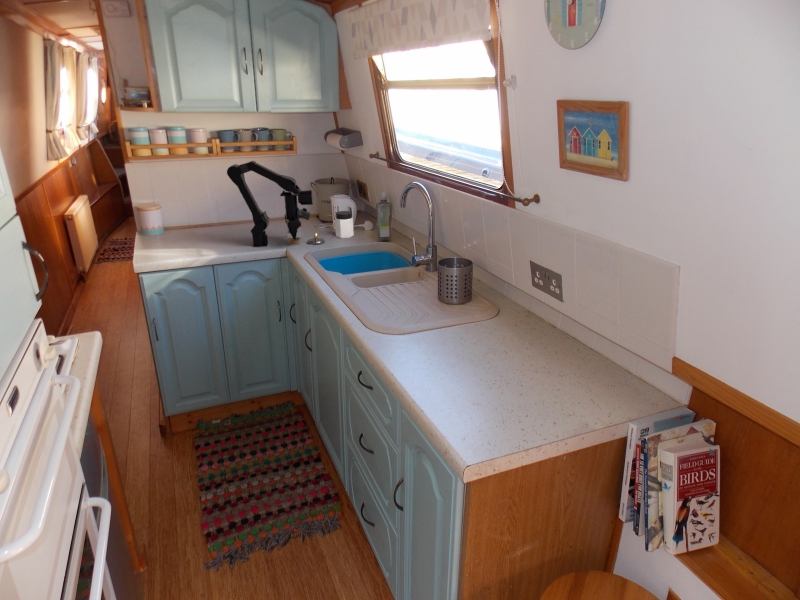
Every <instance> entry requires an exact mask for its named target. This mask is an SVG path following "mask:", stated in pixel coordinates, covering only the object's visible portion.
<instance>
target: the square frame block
mask: <svg viewBox="0 0 800 600" xmlns="http://www.w3.org/2000/svg"><path fill="white" fill-rule="evenodd" d="M285 237H286V238H287V239H288V238H293V237H292V235H291V233H290V231H289V229H286V230H285ZM298 237H300V238H302V231H301V229H300V228H298V229H297V235H296V238H298Z"/></svg>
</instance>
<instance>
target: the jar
mask: <svg viewBox="0 0 800 600" xmlns="http://www.w3.org/2000/svg"><path fill="white" fill-rule="evenodd" d="M334 222H335V223H334V226H335V237H337V238H339V239H347V238H348V239H349V238H352V237H353V236H354V217H353V212H352V211H349V210H341V211H340V210H339V211H336V212H335V218H334Z"/></svg>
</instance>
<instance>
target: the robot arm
mask: <svg viewBox="0 0 800 600" xmlns="http://www.w3.org/2000/svg"><path fill="white" fill-rule="evenodd" d="M249 172H253V173H256V174H258V175H259V176H262V177H264V178H266V179H268V180H269V181H272V182H273V183H275V184H276V185H278V186H279V187H280V188H281V189H282V191H281V193H280V195H279V196H280V197H284V209H285V213H284V215H283V217H284V221H285V224H286V226H287V230H289V231H290V233H291V235H292V237H293V239H296V235H297V229H300V227H302V221H301V220H300V219H303V220H305V221H309V220H310V216H311V212H310V211H308V210H307V208H306V207H302V209H300V208H299V207H298V204H299V205H300V206H312V205H314V196H313V190H312V189H308V190H302V189H301V188H300V187H299V185H298V184H297V181H296V179H295V178H294V177H291V176H288V175H284V174H280V173H278V172H276V171H274V170H272V169H269V168H268V167H266V166H263V165H261V164H260V163H258V162H256V161H255V160H251V161H249V162H245V163H242V164H237V163H233V164H231V165H230V166H229V167H228V168H227V170H226V175H227V177H229V179H230V181H231V182H233V184H234V185H235V186H236V187H237V189H238V190H239V192H240V194H241V196H242V198H243V199H244V202H245V204H246V205H247V208H248V209H249V211H250V212H251V217H252V221H253V224H254V225H253V227H252V228H251V229H250V233H251V235H252V236H251V237H252V247H254V248H255V247H256V248H257V247H266V246H268V245H269V241H268V240H269V239H268V234H267V231H266V229H267V228H268V227H269V225H270V217H269V216H268V214H267V211H266V210H264V211H263V210H261V208H260V207H259V205H258V202H257V201H256V199H255V197H254V196H253V195H254V194H253V193H252V191H251V189H250V187H249V185H248V183H247V182H246V177H245V174H246V173H249Z"/></svg>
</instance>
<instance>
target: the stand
mask: <svg viewBox="0 0 800 600" xmlns="http://www.w3.org/2000/svg"><path fill="white" fill-rule="evenodd" d="M287 242H288V243H287V244H288V246H295V245H301V237H298V238H296V239H293V238H287Z"/></svg>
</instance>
